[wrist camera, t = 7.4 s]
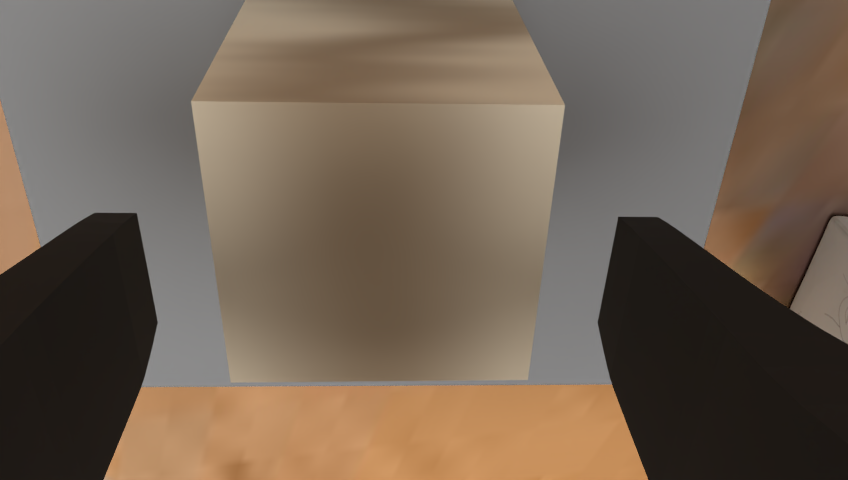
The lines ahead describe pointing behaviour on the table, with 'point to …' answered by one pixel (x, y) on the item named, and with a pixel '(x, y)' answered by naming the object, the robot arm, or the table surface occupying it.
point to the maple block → (378, 189)
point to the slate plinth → (181, 174)
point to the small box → (827, 283)
